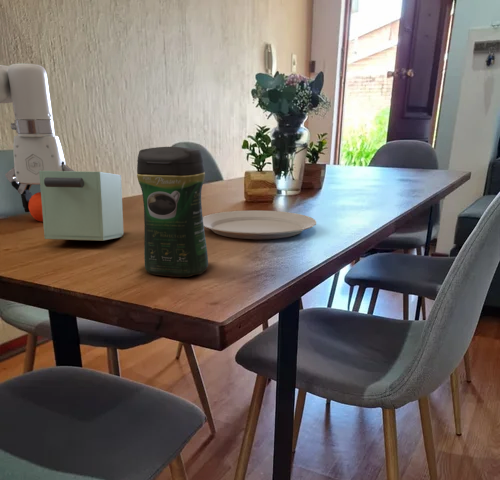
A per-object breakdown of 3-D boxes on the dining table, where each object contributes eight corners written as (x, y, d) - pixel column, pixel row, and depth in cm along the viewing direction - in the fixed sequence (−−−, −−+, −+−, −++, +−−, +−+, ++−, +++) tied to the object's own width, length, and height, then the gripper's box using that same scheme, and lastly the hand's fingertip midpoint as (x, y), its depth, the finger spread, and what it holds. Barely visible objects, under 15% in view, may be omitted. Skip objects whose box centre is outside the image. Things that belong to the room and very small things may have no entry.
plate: (327, 242, 100) (327, 232, 99) (196, 243, 98) (196, 233, 97) (305, 218, 123) (305, 210, 123) (199, 219, 122) (199, 210, 121)
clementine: (71, 219, 120) (67, 188, 117) (62, 225, 114) (58, 192, 111) (36, 220, 120) (31, 188, 117) (26, 225, 113) (21, 192, 110)
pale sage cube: (96, 241, 90) (92, 170, 87) (35, 240, 90) (29, 169, 87) (123, 236, 103) (121, 175, 100) (70, 235, 104) (66, 174, 101)
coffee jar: (214, 267, 83) (211, 146, 75) (195, 281, 76) (190, 148, 68) (160, 262, 85) (152, 144, 78) (137, 275, 78) (126, 147, 71)
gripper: (-13, 129, 106) (2, 213, 113) (67, 129, 105) (78, 215, 111) (6, 128, 113) (19, 208, 120) (81, 129, 111) (91, 209, 118)
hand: (47, 211), depth 116 cm, fingers closed on clementine, 8 cm apart
